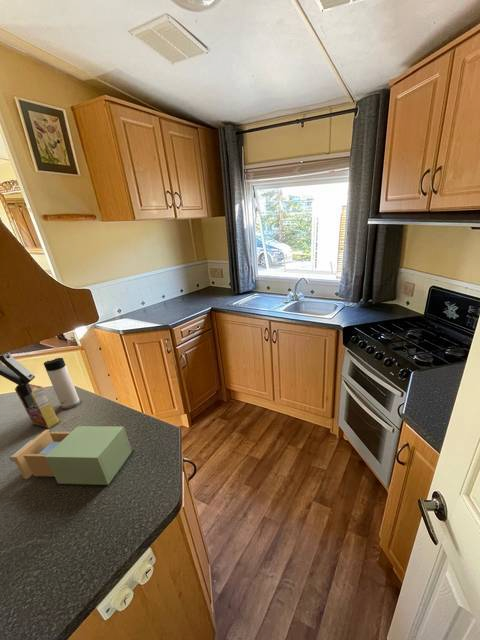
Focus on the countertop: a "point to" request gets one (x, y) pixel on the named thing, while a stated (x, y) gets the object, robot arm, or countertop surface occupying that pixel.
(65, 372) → the travel mug
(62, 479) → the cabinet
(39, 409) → the candy box
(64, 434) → the drawer
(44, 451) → the block
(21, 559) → the countertop surface
